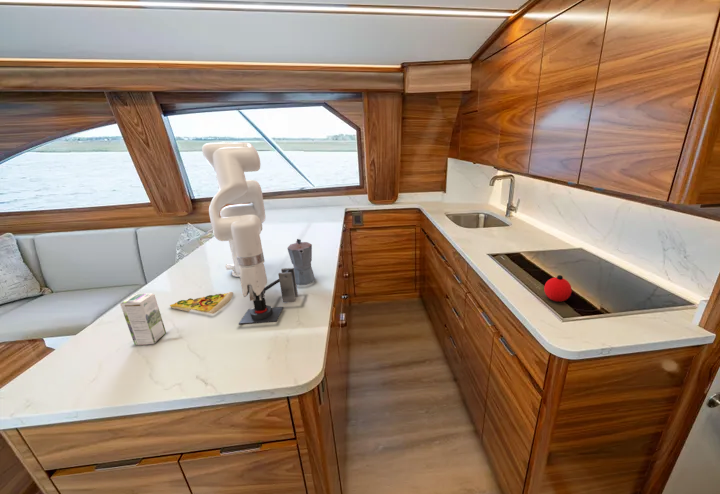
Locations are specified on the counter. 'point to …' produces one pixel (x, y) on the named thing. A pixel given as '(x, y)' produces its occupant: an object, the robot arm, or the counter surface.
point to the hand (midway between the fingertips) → (260, 309)
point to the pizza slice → (204, 303)
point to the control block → (261, 316)
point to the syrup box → (143, 318)
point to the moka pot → (302, 262)
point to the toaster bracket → (288, 285)
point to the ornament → (558, 289)
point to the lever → (273, 283)
